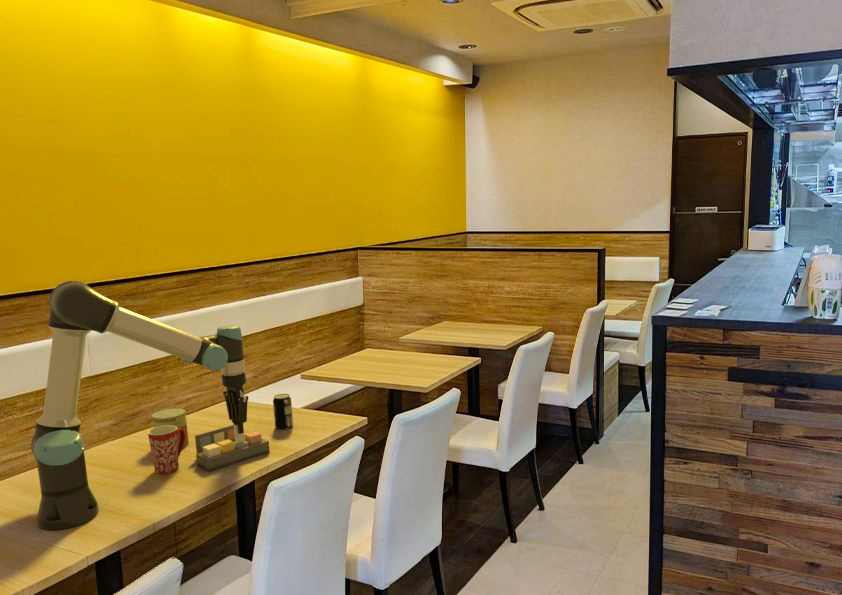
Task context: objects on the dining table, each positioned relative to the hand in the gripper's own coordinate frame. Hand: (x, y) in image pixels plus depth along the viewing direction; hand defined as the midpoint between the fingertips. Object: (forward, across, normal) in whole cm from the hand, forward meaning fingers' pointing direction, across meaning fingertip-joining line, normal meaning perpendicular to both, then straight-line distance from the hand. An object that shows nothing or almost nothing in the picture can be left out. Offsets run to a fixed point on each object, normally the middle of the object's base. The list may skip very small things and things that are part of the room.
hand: (240, 441), depth 236 cm
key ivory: (+2, 0, +10) cm, 10 cm away
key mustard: (+2, 0, +5) cm, 6 cm away
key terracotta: (+2, 0, -5) cm, 5 cm away
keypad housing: (+5, 0, +3) cm, 6 cm away
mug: (+5, +9, +20) cm, 23 cm away
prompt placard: (+5, +10, +3) cm, 12 cm away
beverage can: (+6, +15, -26) cm, 30 cm away
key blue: (+4, 0, 0) cm, 4 cm away
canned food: (+5, +29, +11) cm, 32 cm away
